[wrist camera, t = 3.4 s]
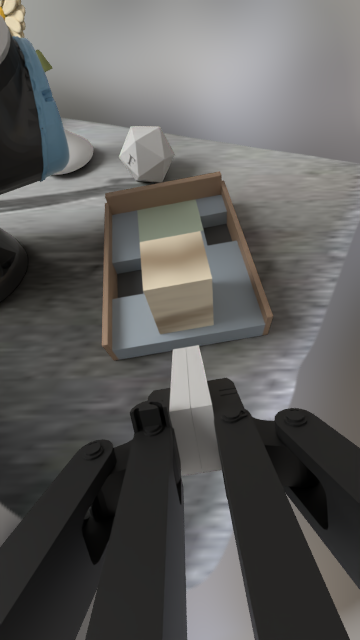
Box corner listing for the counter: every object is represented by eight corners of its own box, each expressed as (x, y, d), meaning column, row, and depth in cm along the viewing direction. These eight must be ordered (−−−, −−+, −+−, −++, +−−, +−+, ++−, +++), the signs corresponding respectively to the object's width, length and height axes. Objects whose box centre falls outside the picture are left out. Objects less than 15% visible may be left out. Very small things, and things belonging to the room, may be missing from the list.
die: (128, 171, 54) (101, 147, 45) (157, 133, 51) (135, 99, 42) (156, 200, 53) (134, 181, 44) (187, 163, 51) (172, 134, 41)
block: (213, 325, 31) (212, 278, 24) (159, 334, 31) (143, 290, 24) (204, 282, 34) (200, 231, 27) (155, 291, 34) (139, 242, 27)
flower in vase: (31, 169, 57) (-79, -19, 36) (75, 143, 61) (-2, -43, 40) (67, 191, 52) (-39, -17, 30) (113, 160, 55) (46, -45, 34)
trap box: (267, 334, 32) (275, 308, 27) (114, 360, 33) (96, 339, 28) (223, 204, 45) (224, 170, 40) (113, 224, 45) (101, 194, 40)
